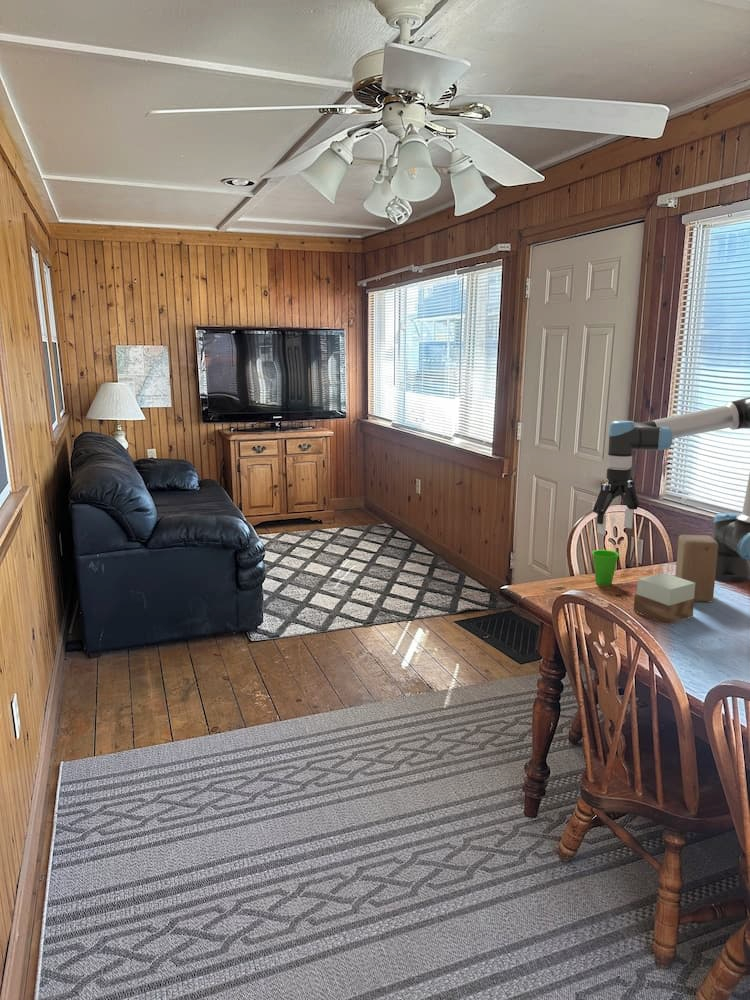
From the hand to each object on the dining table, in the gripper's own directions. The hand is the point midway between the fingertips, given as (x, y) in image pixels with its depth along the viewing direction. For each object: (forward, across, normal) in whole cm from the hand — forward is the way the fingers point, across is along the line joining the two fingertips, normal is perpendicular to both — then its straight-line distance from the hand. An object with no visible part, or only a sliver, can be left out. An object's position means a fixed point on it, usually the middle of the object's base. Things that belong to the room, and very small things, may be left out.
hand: (614, 530), depth 227 cm
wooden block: (+20, -15, +21) cm, 33 cm away
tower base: (+21, +6, +24) cm, 33 cm away
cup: (+20, -2, -4) cm, 21 cm away
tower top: (+15, +6, +25) cm, 29 cm away
